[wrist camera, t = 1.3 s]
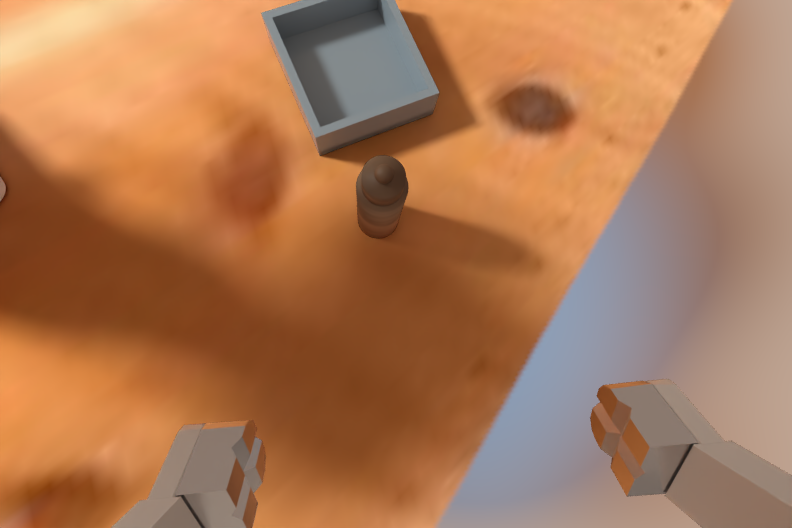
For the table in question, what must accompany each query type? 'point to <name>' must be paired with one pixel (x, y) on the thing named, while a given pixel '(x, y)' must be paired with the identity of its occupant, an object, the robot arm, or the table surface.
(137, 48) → the table surface
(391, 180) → the pepper mill
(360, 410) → the table surface
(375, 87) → the serving tray
